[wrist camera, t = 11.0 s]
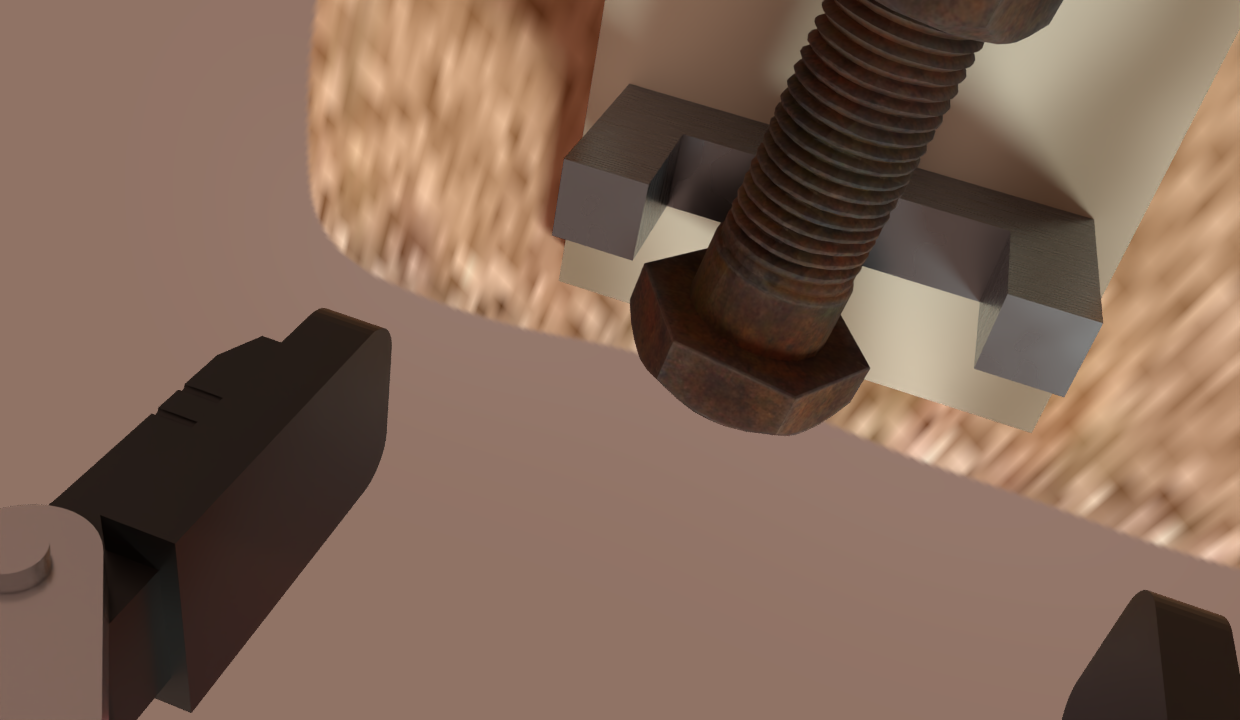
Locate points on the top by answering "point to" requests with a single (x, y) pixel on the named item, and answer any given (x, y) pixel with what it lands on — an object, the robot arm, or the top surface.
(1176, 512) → the top surface
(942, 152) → the collar board
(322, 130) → the top surface
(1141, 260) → the top surface
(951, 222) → the grey notched cradle
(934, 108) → the bolt
